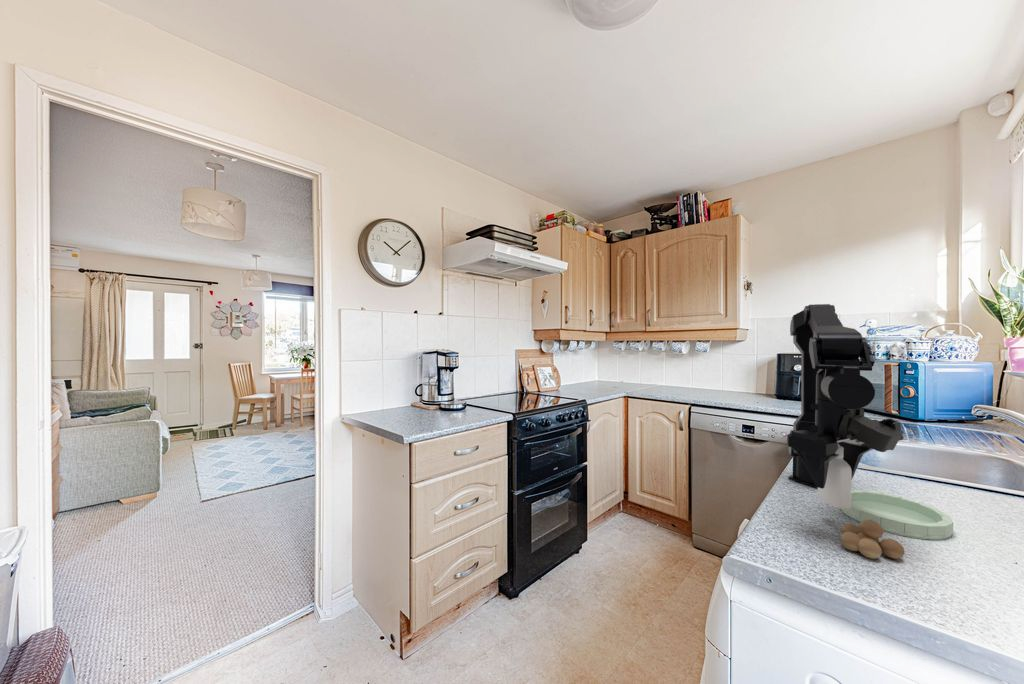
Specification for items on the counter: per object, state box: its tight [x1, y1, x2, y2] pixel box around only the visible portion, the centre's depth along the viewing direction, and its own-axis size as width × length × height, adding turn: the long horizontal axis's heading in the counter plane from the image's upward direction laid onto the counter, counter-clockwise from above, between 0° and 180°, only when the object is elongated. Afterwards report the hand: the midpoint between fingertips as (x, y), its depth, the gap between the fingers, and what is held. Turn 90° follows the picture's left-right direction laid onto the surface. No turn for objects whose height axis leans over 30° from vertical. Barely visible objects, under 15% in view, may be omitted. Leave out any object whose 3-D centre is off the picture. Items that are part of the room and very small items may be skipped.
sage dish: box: [839, 489, 954, 541], centre depth 71 cm, size 15×15×2 cm
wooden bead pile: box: [839, 520, 905, 560], centre depth 61 cm, size 8×6×5 cm
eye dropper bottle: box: [817, 444, 853, 510], centre depth 69 cm, size 4×6×12 cm
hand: (834, 484), depth 69 cm, fingers closed on eye dropper bottle, 8 cm apart
